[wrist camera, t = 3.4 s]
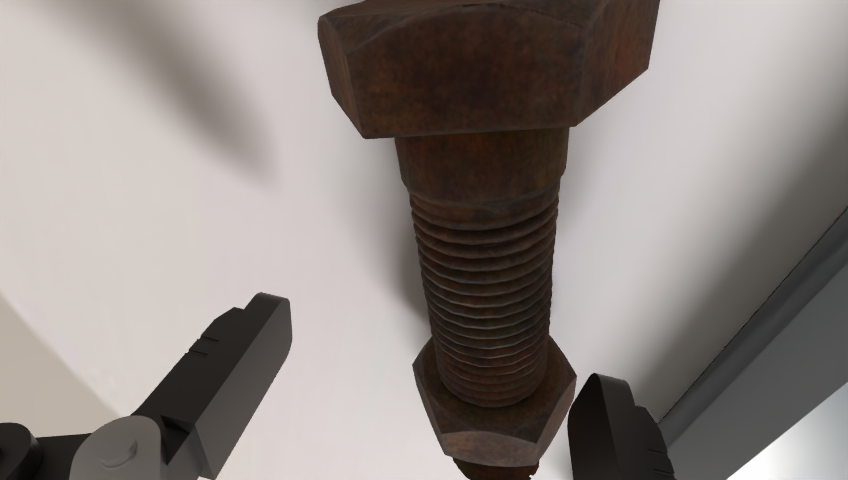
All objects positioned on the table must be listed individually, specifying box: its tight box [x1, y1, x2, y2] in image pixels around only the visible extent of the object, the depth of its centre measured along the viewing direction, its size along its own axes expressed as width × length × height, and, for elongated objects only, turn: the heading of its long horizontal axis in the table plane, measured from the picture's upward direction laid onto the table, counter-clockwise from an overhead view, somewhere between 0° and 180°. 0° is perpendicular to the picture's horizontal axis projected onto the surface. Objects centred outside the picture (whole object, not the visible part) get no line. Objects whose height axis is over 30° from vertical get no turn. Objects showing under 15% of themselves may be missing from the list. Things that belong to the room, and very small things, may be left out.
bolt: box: [318, 0, 660, 480], centre depth 11 cm, size 6×5×15 cm
